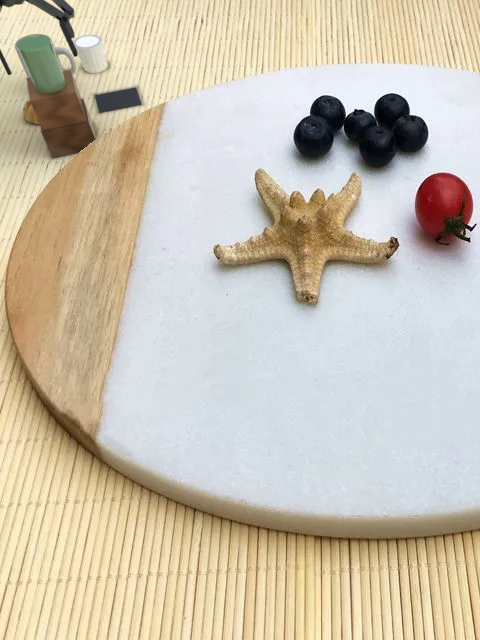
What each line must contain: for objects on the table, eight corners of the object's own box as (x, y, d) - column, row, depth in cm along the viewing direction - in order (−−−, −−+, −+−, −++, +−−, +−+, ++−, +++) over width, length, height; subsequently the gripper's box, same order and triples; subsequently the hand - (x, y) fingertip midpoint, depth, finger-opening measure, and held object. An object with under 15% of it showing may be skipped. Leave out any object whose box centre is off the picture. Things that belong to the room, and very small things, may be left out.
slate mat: (99, 114, 160) (99, 112, 159) (95, 96, 164) (94, 95, 164) (142, 106, 162) (141, 104, 162) (136, 89, 166) (136, 87, 166)
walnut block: (53, 159, 149) (27, 102, 138) (49, 134, 155) (24, 77, 144) (99, 150, 152) (78, 92, 140) (93, 125, 157) (72, 68, 146)
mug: (30, 97, 164) (10, 53, 155) (35, 78, 169) (17, 34, 160) (80, 94, 165) (64, 50, 156) (84, 75, 170) (69, 31, 161)
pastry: (73, 113, 160) (67, 98, 157) (60, 130, 156) (54, 115, 153) (37, 108, 161) (30, 93, 158) (23, 124, 157) (16, 110, 154)
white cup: (87, 60, 174) (77, 33, 168) (113, 61, 174) (104, 34, 168) (79, 75, 170) (69, 48, 164) (106, 76, 169) (97, 48, 164)
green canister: (36, 95, 139) (18, 53, 132) (33, 79, 143) (15, 38, 136) (68, 89, 141) (51, 47, 134) (64, 74, 144) (48, 32, 137)
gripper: (-80, -40, 126) (-24, 74, 131) (53, -68, 134) (102, 40, 138) (-70, -21, 133) (-17, 86, 138) (56, -49, 141) (102, 53, 145)
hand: (43, 63), depth 138 cm, fingers open, 13 cm apart
